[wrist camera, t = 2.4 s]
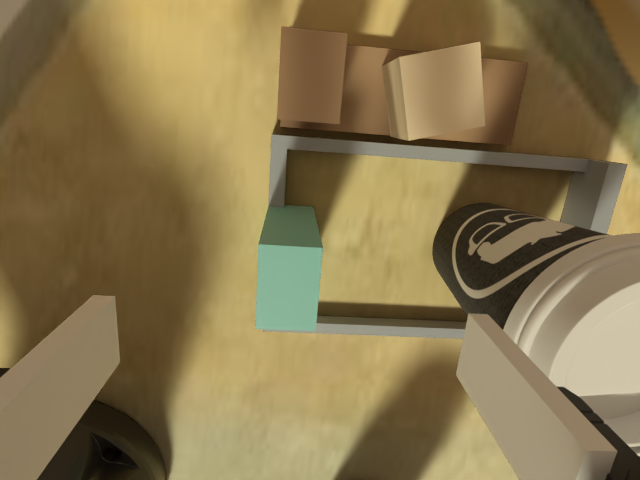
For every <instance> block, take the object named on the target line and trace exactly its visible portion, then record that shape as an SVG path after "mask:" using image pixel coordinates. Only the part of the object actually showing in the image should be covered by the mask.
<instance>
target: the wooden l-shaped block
mask: <svg viewBox="0 0 640 480" xmlns="http://www.w3.org/2000/svg"><path fill="white" fill-rule="evenodd" d="M347 35H348V33H341V32H331V31H321V30H312V29H302V28H292V27H281V48H280V69H279V90H278V111H277V119H280V127H291V128H304V129H316V130H328V131H341V132H353V133H365V134H378V135H390V128H389V120H388V112H387V104H386V96H385V88H384V80H383V72H382V66H384V65H385V64H387V63H389V62H391V61H393V60H395V59H397V58H398V57H402V56H407V55H412V54H418V53H423V52H417V51H407V50H397V49H387V48H377V47H367V46H357V45H347ZM481 63H482V80H483V98H484V116H485V126H482V127H477V128H472V129H467V130H462V131H457V132H451V133H446V134H441V135H436V136H431V137H426V138H427V139H439V140H451V141H464V142H476V143H488V144H501V145H511V141H512V136H513V132H514V127H515V122H516V117H517V113H518V108H519V103H520V99H521V94H522V89H523V84H524V80H525V75H526V70H527V65H528V63H527V62H517V61H507V60H497V59H487V58H481Z"/></svg>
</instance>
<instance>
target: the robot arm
mask: <svg viewBox="0 0 640 480" xmlns="http://www.w3.org/2000/svg"><path fill="white" fill-rule="evenodd" d="M119 363H120V353H119V340H118V326H117V313H116V299H115V296H103V295H93V296H92V297H90V298H89V299H88V300H87V301H86V302H85V303H84V304H83V305H81V306H80V307H79V308H78V309H77V310H76V311H75V312H74V313H72V314H71V315H70V316H69V317H68V318H67V319H66V320H65V321H63V322H62V323H61V324H60V325H59V326H58V327H57V328H56V329H54V330H53V331H52V332H51V333H50V334H49V335H48V336H47V337H45V338H44V339H43V340H42V341H41V342H40V343H39V344H38V345H37V346H35V347H34V348H33V349H32V350H31V351H30V352H29V353H28V354H26V355H25V356H24V357H23V358H22V359H21V360H20V361H19V362H17V363H16V364H15V365H14V366H13V367H12V368H0V480H165V468H164V463H163V460H162V457H161V454H160V452H159V450H158V448H157V446H156V445H155V443H154V442H153V440H152V439H151V437H150V436H149V435H148V434H147V433H146V432H145V431H144V430H143V429H142V428H141V427H140V426H139V425H138V424H137V423H136V422H134V421H133V420H132V419H130V418H129V417H127V416H126V415H124V414H123V413H121V412H119V411H117V410H115V409H113V408H111V407H109V406H107V405H104V404H101V403H99V402H95V401H93V400H94V399H95V397H96V396H97V394H98V393H99V391H100V390H101V389H102V387H103V386H104V384H105V383H106V382H107V380H108V379H109V377H110V376H111V375H112V373H113V372H114V370H115V369H116V368H117V366H118V365H119ZM456 376H457V378H458V379H459V381H460V383H461V384H462V386H463V388H464V389H465V391H466V393H467V394H468V396H469V397H470V399H471V401H472V402H473V404H474V406H475V407H476V409H477V411H478V412H479V414H480V416H481V417H482V419H483V421H484V422H485V424H486V426H487V427H488V429H489V430H490V432H491V434H492V435H493V437H494V439H495V440H496V442H497V444H498V445H499V447H500V449H501V450H502V452H503V454H504V455H505V457H506V459H507V460H508V462H509V464H510V465H511V467H512V468H513V470H514V472H515V473H516V475H517V477H518V478H519V480H640V457H639V456H638V455H637V454H636V453H635V452H634V451H633V450H632V449H631V448H630V447H629V446H628V445H627V444H626V443H625V442H624V441H623V440H622V439H621V438H620V437H619V436H618V435H617V434H616V433H615V432H614V431H613V430H612V429H611V428H610V427H609V426H608V425H607V424H604V421H603V420H602V419H601V418H600V417H599V416H598V415H597V414H596V413H594V412H593V410H592V409H591V408H590V407H589V406H588V405H587V404H586V403H585V402H584V401H583V400H582V399H581V398H580V397H578V396H577V395H575V394H574V393H572V392H571V391H569V390H568V389H566V388H565V387H556V386H555V385H554V384H553V383H552V382H551V380H550V379H549V378H548V377H547V376H546V375H545V374H544V373H543V372H542V371H541V370H540V369H539V368H538V367H537V366H536V365H535V364H534V363H533V361H532V360H531V359H530V358H529V357H528V356H527V355H526V354H525V353H524V352H523V351H522V350H521V349H520V348H519V347H518V346H517V345H516V344H515V342H514V341H513V340H512V339H511V338H510V337H509V336H508V335H507V334H506V333H505V332H504V331H503V330H502V329H501V328H500V327H499V326H498V325H497V323H496V322H495V321H494V320H493V319H492V318H491V317H490V316H489V315H488V314H471V313H469V314H468V319H467V323H466V328H465V333H464V338H463V343H462V347H461V352H460V357H459V362H458V367H457V371H456Z"/></svg>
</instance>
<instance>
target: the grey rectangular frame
mask: <svg viewBox="0 0 640 480" xmlns="http://www.w3.org/2000/svg"><path fill="white" fill-rule="evenodd" d="M287 149H293V150H306V151H319V152H332V153H345V154H358V155H371V156H384V157H397V158H410V159H424V160H437V161H450V162H463V163H476V164H489V165H502V166H515V167H528V168H541V169H554V170H567V171H573V174H572V178H571V182H570V186H569V190H568V194H567V197H566V201H565V205H564V209H563V213H562V217H561V220H560V222H562V223H565V224H569V225H573V226H577V227H581V228H585V229H589V230H593V231H597V232H600V233H604V234H607V231H608V228H609V225H610V221H611V218H612V215H613V211H614V208H615V204H616V201H617V198H618V194H619V191H620V188H621V184H622V181H623V177H624V174H625V171H626V167H627V164H622V163H616V162H609V161H602V160H595V159H584V158H572V157H559V156H547V155H534V154H522V153H509V152H496V151H484V150H471V149H459V148H446V147H434V146H421V145H408V144H396V143H383V142H371V141H358V140H346V139H333V138H321V137H308V136H295V135H283V134H271V162H270V185H269V206H268V210H267V214H266V218H265V222H264V226H263V229H262V233H261V237H260V241H259V247H258V274H257V300H256V326H255V329H263V331H269V332H295V333H321V334H348V335H374V336H400V337H426V338H453V339H463V338H464V333H465V328H466V323H467V322H461V321H437V320H413V319H390V318H366V317H342V316H318V315H317V310H318V299H319V287H320V276H321V264H322V253H323V246H322V242H321V238H320V233H319V229H318V224H317V220H316V216H315V211H314V207H311V206H296V205H284V196H285V178H286V160H287Z"/></svg>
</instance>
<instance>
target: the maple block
mask: <svg viewBox="0 0 640 480" xmlns="http://www.w3.org/2000/svg"><path fill="white" fill-rule="evenodd" d="M382 72H383V80H384V88H385V96H386V104H387V112H388V120H389V128H390V136H391V137H394V138H399V139H403V140H407V141H410V140H415V139H420V138H426V137H431V136H436V135H441V134H446V133H451V132H457V131H462V130H467V129H472V128H477V127H482V126H485V116H484V98H483V80H482V63H481V45H480V42H475V43H470V44H465V45H459V46H454V47H449V48H444V49H439V50H433V51H428V52H423V53H418V54H412V55H407V56H402V57H398V58H397V59H395V60H393V61H391V62H389V63H387V64H385V65H384V66H382Z"/></svg>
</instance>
